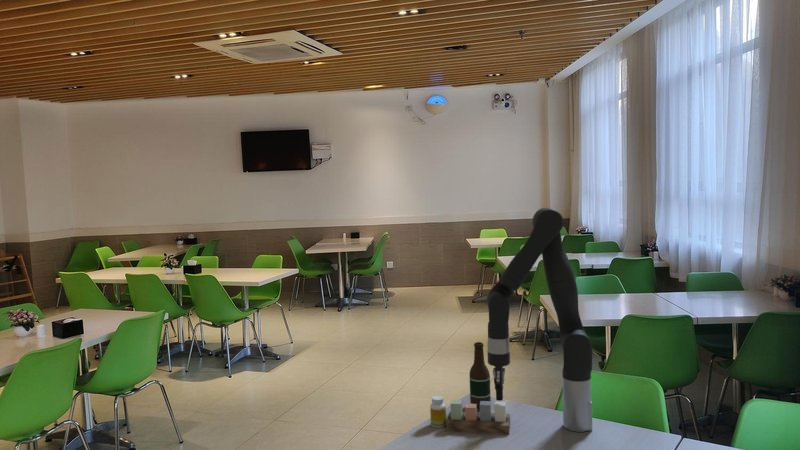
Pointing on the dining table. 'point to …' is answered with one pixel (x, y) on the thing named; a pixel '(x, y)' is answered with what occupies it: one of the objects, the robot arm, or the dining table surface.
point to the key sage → (456, 410)
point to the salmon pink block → (471, 412)
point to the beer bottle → (479, 377)
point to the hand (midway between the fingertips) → (499, 399)
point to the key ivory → (500, 411)
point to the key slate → (485, 411)
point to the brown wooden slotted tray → (478, 425)
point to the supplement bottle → (438, 412)
